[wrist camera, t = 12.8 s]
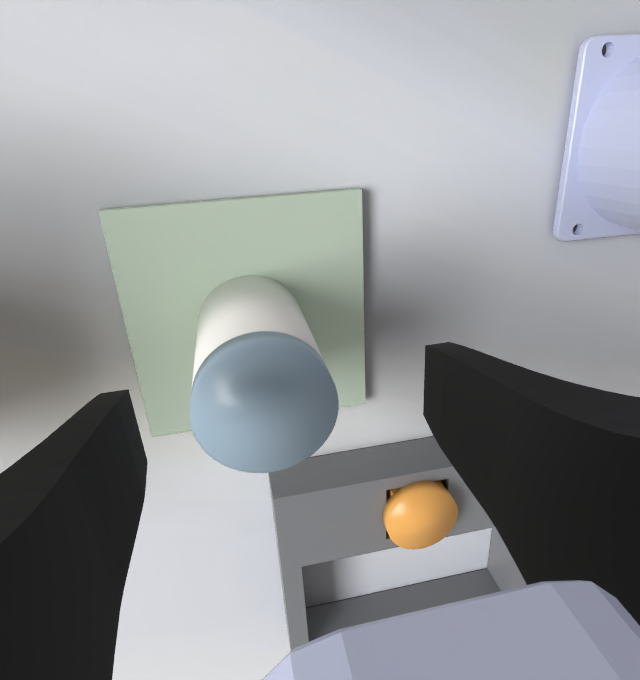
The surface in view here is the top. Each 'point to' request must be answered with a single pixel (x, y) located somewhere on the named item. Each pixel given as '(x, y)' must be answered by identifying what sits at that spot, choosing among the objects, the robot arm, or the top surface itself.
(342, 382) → the mat
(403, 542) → the plunger
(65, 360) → the top surface
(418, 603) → the dock
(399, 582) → the top surface
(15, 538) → the robot arm
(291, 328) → the cylinder
